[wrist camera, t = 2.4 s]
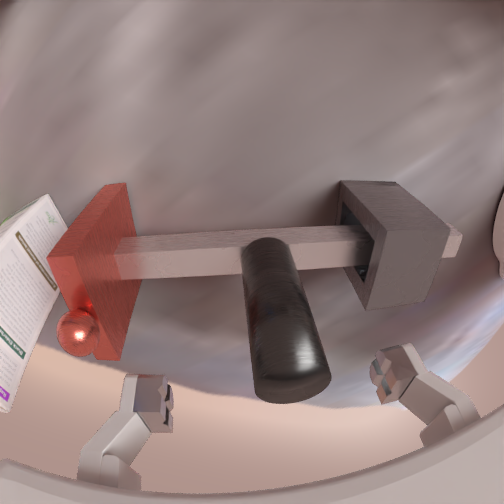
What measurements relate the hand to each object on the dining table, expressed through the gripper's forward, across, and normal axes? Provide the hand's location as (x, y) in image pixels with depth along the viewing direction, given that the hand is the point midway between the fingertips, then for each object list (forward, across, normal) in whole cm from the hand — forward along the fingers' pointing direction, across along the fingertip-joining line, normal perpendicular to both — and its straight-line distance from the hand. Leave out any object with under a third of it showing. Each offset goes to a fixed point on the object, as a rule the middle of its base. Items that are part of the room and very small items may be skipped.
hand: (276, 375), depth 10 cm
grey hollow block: (+12, -9, 0) cm, 15 cm away
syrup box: (+13, +16, 0) cm, 21 cm away
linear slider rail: (+12, -3, 0) cm, 12 cm away
